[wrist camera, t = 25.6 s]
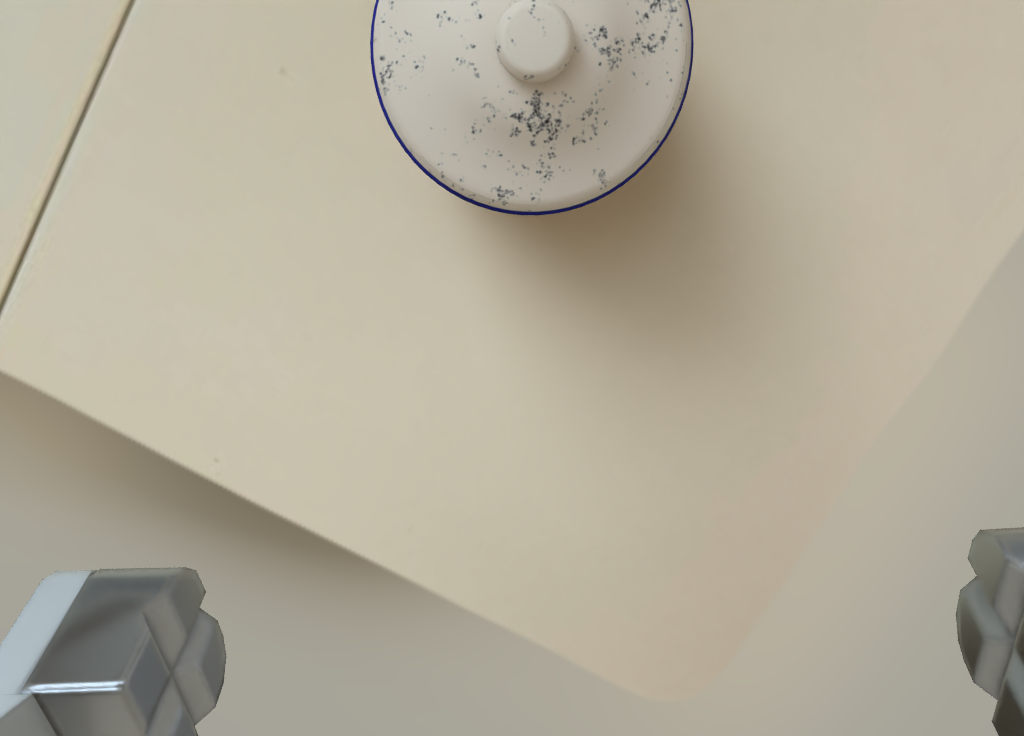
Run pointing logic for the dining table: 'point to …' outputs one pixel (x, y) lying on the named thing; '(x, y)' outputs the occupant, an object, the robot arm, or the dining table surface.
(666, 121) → the teacup with lid
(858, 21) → the dining table surface
